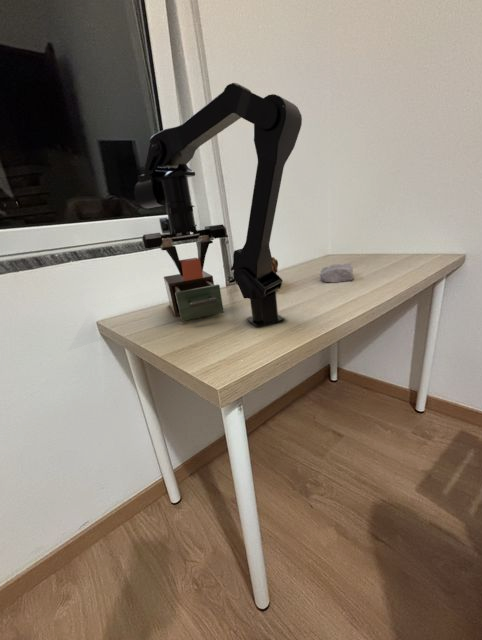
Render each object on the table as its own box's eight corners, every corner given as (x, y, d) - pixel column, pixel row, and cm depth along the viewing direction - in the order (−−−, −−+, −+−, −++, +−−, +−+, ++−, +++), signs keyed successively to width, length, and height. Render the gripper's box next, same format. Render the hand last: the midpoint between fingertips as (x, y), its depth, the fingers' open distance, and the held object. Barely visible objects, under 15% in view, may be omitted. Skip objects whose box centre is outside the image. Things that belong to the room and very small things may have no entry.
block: (203, 277, 73) (199, 258, 71) (184, 281, 72) (181, 261, 70) (199, 275, 77) (196, 257, 75) (182, 278, 76) (178, 260, 74)
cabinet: (217, 307, 84) (212, 275, 80) (175, 316, 81) (168, 283, 77) (207, 298, 96) (202, 270, 92) (169, 305, 93) (163, 276, 89)
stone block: (322, 288, 96) (355, 279, 93) (319, 273, 94) (352, 264, 91) (322, 282, 106) (351, 273, 103) (318, 268, 105) (349, 259, 102)
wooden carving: (282, 292, 91) (280, 257, 87) (267, 293, 91) (264, 259, 87) (277, 281, 106) (275, 251, 102) (264, 283, 106) (261, 253, 102)
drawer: (228, 316, 71) (224, 288, 69) (184, 326, 69) (178, 296, 66) (212, 302, 86) (208, 277, 84) (175, 309, 84) (169, 284, 81)
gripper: (210, 201, 77) (220, 264, 83) (134, 210, 72) (150, 276, 78) (222, 197, 67) (232, 269, 74) (135, 206, 62) (153, 282, 69)
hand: (191, 274), depth 74 cm, fingers closed on block, 4 cm apart
